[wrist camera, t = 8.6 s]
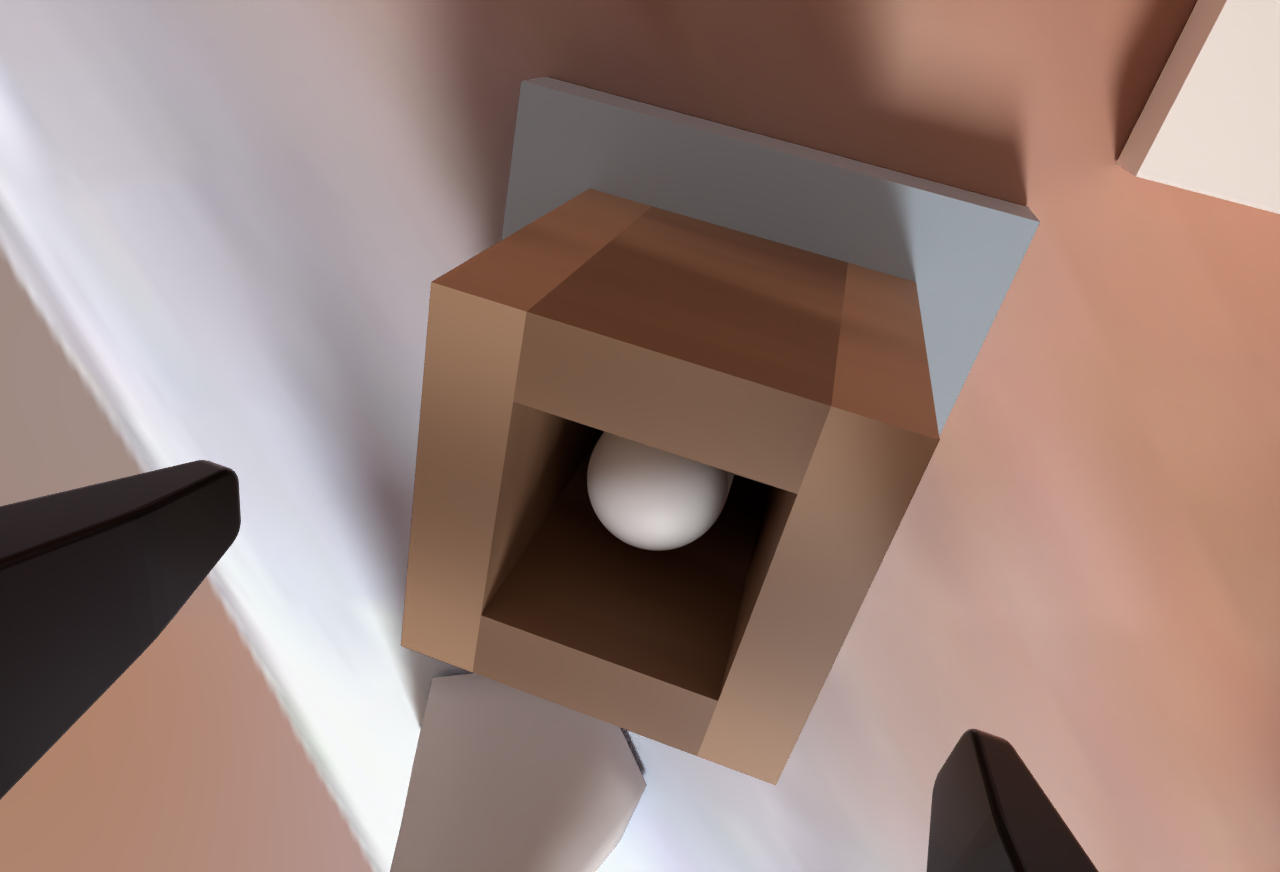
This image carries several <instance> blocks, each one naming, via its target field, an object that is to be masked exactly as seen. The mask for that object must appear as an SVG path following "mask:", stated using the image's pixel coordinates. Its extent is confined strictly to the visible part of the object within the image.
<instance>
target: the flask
mask: <svg viewBox="0 0 1280 872" xmlns="http://www.w3.org/2000/svg"><path fill="white" fill-rule="evenodd" d="M645 787H646V783H645V780H644V778H643V776H642V774H641V772H640V769H639V767H638V765H637V763H636V761H635V759H634V756H633V754H632V752H631V750H630V748H629V746H628V743H627V741H626V739H625V737H624V735H623V733H622V730H621V728H620V727H618V726H615V725H612V724H610V723H607V722H604V721H602V720H599V719H596V718H594V717H591V716H588V715H585V714H583V713H580V712H577V711H575V710H572V709H569V708H567V707H564V706H561V705H559V704H556V703H553V702H551V701H548V700H545V699H542V698H540V697H537V696H534V695H532V694H529V693H526V692H524V691H521V690H518V689H516V688H513V687H510V686H507V685H505V684H502V683H499V682H497V681H494V680H491V679H489V678H486V677H483V676H481V675H478V674H475V673H473V674H463V675H453V676H443V677H433V678H432V683H431V687H430V691H429V696H428V700H427V704H426V708H425V713H424V717H423V722H422V726H421V731H420V736H419V740H418V745H417V749H416V754H415V758H414V763H413V767H412V772H411V777H410V782H409V787H408V793H407V798H406V803H405V808H404V813H403V818H402V823H401V827H400V831H399V836H398V840H397V844H396V848H395V853H394V857H393V861H392V865H391V870H390V872H595V871H596V870H597V869H598V868H599V867H600V865H601V864H602V863H603V862H604V861H605V859H606V858H607V857H608V855H609V854H610V853H611V852H612V850H613V849H614V848H615V847H616V845H617V844H618V843H619V841H620V840H621V838H622V836H623V834H624V831H625V829H626V827H627V825H628V823H629V821H630V819H631V817H632V815H633V813H634V810H635V808H636V806H637V804H638V802H639V800H640V798H641V796H642V794H643V792H644V789H645Z"/></svg>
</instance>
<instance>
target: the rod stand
mask: <svg viewBox="0 0 1280 872" xmlns="http://www.w3.org/2000/svg"><path fill="white" fill-rule="evenodd" d="M1116 165H1118V166H1120V167H1121V168H1123V169H1125V170H1126V171H1128V172H1130V173H1131V174H1133V175H1134V176H1137V177H1140V178H1144V179H1148V180H1152V181H1156V182H1159V183H1163V184H1167V185H1171V186H1175V187H1179V188H1182V189H1186V190H1190V191H1194V192H1198V193H1201V194H1205V195H1209V196H1213V197H1217V198H1221V199H1224V200H1228V201H1232V202H1236V203H1240V204H1243V205H1247V206H1251V207H1255V208H1259V209H1263V210H1266V211H1270V212H1274V213H1278V214H1280V0H1198V1H1197V3H1196V5H1195V7H1194V9H1193V11H1192V13H1191V15H1190V17H1189V19H1188V21H1187V23H1186V25H1185V27H1184V29H1183V31H1182V33H1181V35H1180V37H1179V39H1178V41H1177V43H1176V45H1175V47H1174V49H1173V51H1172V53H1171V55H1170V57H1169V59H1168V61H1167V63H1166V65H1165V67H1164V69H1163V71H1162V73H1161V75H1160V77H1159V79H1158V81H1157V83H1156V85H1155V87H1154V89H1153V91H1152V93H1151V95H1150V97H1149V99H1148V101H1147V103H1146V105H1145V107H1144V109H1143V111H1142V113H1141V115H1140V117H1139V119H1138V121H1137V123H1136V125H1135V127H1134V129H1133V131H1132V133H1131V135H1130V136H1129V138H1128V140H1127V142H1126V144H1125V146H1124V148H1123V150H1122V152H1121V154H1120V156H1119V158H1118V160H1117V162H1116Z"/></svg>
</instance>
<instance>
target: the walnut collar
mask: <svg viewBox="0 0 1280 872" xmlns="http://www.w3.org/2000/svg"><path fill="white" fill-rule="evenodd" d="M603 431H605V432H608V433H611V434H614V435H617V436H620V437H623V438H627V439H630V440H633V441H636V442H639V443H642V444H645V445H648V446H651V447H654V448H657V449H660V450H663V451H666V452H670V453H673V454H676V455H679V456H682V457H685V458H688V459H691V460H694V461H697V462H700V463H703V464H706V465H709V466H713V467H716V468H719V469H722V470H725V471H728V472H731V473H734V474H737V475H740V476H743V477H746V478H749V479H752V480H756V481H759V482H762V483H765V484H768V485H765V484H761V483H758V482H755V481H752V480H749V479H746V478H743V477H740V476H737V475H734V477H733V481H732V484H731V487H730V490H729V493H728V497H727V500H726V503H725V505H724V507H723V510H722V512H721V514H720V516H719V517H718V519H717V520H716V522H715V523H714V524H713V525H712V527H711V528H710V529H709V530H708V531H707V532H706V533H704V534H703V535H702V536H701V537H700V538H698V539H696V540H695V541H693V542H691V543H689V544H687V545H685V546H682V547H679V548H676V549H671V550H662V551H653V550H645V549H640V548H637V547H634V546H631V545H629V544H627V543H625V542H623V541H621V540H620V539H618V538H617V537H615V536H614V535H613V534H612V533H611V532H609V530H608V529H607V528H606V527H605V526H604V525H603V524H602V522H601V521H600V520H599V518H598V517H597V515H596V513H595V511H594V509H593V507H592V504H591V501H590V498H589V494H588V488H587V471H588V465H589V461H590V457H591V454H592V452H593V450H594V448H595V446H596V444H597V442H598V440H599V439H600V437H601V436H602V434H603V433H604V432H603ZM939 440H940V439H939V432H938V425H937V419H936V412H935V405H934V399H933V392H932V385H931V379H930V372H929V365H928V358H927V352H926V345H925V338H924V332H923V325H922V318H921V312H920V305H919V298H918V292H917V285H916V282H914V281H910V280H907V279H903V278H900V277H896V276H893V275H889V274H886V273H882V272H879V271H876V270H872V269H869V268H865V267H862V266H858V265H855V264H851V263H848V262H844V261H841V260H837V259H834V258H830V257H827V256H823V255H820V254H816V253H813V252H809V251H806V250H802V249H799V248H796V247H792V246H789V245H785V244H782V243H778V242H775V241H771V240H768V239H764V238H761V237H757V236H754V235H750V234H747V233H743V232H740V231H736V230H733V229H729V228H726V227H723V226H719V225H716V224H712V223H709V222H705V221H702V220H698V219H695V218H691V217H688V216H684V215H681V214H677V213H674V212H670V211H667V210H663V209H660V208H656V207H653V206H649V205H646V204H643V203H639V202H636V201H632V200H629V199H625V198H622V197H618V196H615V195H611V194H608V193H604V192H601V191H597V190H594V189H590V188H589V189H588V190H586V191H584V192H583V193H581V194H579V195H577V196H576V197H574V198H572V199H571V200H569V201H567V202H566V203H564V204H562V205H561V206H559V207H557V208H555V209H554V210H552V211H550V212H549V213H547V214H545V215H544V216H542V217H540V218H539V219H537V220H535V221H534V222H532V223H530V224H528V225H527V226H525V227H523V228H522V229H520V230H518V231H517V232H515V233H513V234H512V235H510V236H508V237H507V238H505V239H503V240H501V241H500V242H498V243H496V244H495V245H493V246H491V247H490V248H488V249H486V250H485V251H483V252H481V253H479V254H478V255H476V256H474V257H473V258H471V259H469V260H468V261H466V262H464V263H463V264H461V265H459V266H458V267H456V268H454V269H452V270H451V271H449V272H447V273H446V274H444V275H442V276H441V277H439V278H437V279H436V280H434V281H432V282H431V291H430V303H429V315H428V327H427V339H426V351H425V363H424V375H423V387H422V399H421V411H420V423H419V435H418V447H417V459H416V471H415V483H414V495H413V507H412V519H411V531H410V543H409V555H408V567H407V579H406V591H405V603H404V615H403V627H402V639H401V646H403V647H405V648H408V649H411V650H413V651H416V652H419V653H421V654H424V655H427V656H430V657H432V658H435V659H438V660H440V661H443V662H446V663H448V664H451V665H454V666H456V667H459V668H462V669H464V670H467V671H470V672H473V673H475V674H478V675H481V676H483V677H486V678H489V679H491V680H494V681H497V682H499V683H502V684H505V685H507V686H510V687H513V688H516V689H518V690H521V691H524V692H526V693H529V694H532V695H534V696H537V697H540V698H542V699H545V700H548V701H551V702H553V703H556V704H559V705H561V706H564V707H567V708H569V709H572V710H575V711H577V712H580V713H583V714H585V715H588V716H591V717H594V718H596V719H599V720H602V721H604V722H607V723H610V724H612V725H615V726H618V727H620V728H623V729H626V730H628V731H631V732H634V733H637V734H639V735H642V736H645V737H647V738H650V739H653V740H655V741H658V742H661V743H663V744H666V745H669V746H671V747H674V748H677V749H680V750H682V751H685V752H688V753H690V754H693V755H696V756H698V757H701V758H704V759H706V760H709V761H712V762H715V763H717V764H720V765H723V766H725V767H728V768H731V769H733V770H736V771H739V772H741V773H744V774H747V775H749V776H752V777H755V778H758V779H760V780H763V781H766V782H768V783H771V784H774V785H776V784H777V782H778V780H779V777H780V775H781V773H782V771H783V769H784V767H785V765H786V763H787V761H788V759H789V756H790V754H791V752H792V750H793V748H794V746H795V744H796V742H797V740H798V737H799V735H800V733H801V731H802V729H803V727H804V725H805V723H806V721H807V718H808V716H809V714H810V712H811V710H812V708H813V706H814V704H815V702H816V699H817V697H818V695H819V693H820V691H821V689H822V687H823V685H824V683H825V681H826V678H827V676H828V674H829V672H830V670H831V668H832V666H833V664H834V662H835V659H836V657H837V655H838V653H839V651H840V649H841V647H842V645H843V643H844V640H845V638H846V636H847V634H848V632H849V630H850V628H851V626H852V624H853V622H854V619H855V617H856V615H857V613H858V611H859V609H860V607H861V605H862V603H863V600H864V598H865V596H866V594H867V592H868V590H869V588H870V586H871V584H872V581H873V579H874V577H875V575H876V573H877V571H878V569H879V567H880V565H881V562H882V560H883V558H884V556H885V554H886V552H887V550H888V548H889V546H890V544H891V541H892V539H893V537H894V535H895V533H896V531H897V529H898V527H899V525H900V522H901V520H902V518H903V516H904V514H905V512H906V510H907V508H908V506H909V503H910V501H911V499H912V497H913V495H914V493H915V491H916V489H917V487H918V484H919V482H920V480H921V478H922V476H923V474H924V472H925V470H926V468H927V466H928V463H929V461H930V459H931V457H932V455H933V453H934V451H935V449H936V447H937V444H938V442H939Z"/></svg>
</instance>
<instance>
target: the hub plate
mask: <svg viewBox="0 0 1280 872" xmlns="http://www.w3.org/2000/svg"><path fill="white" fill-rule="evenodd" d="M589 188H590V189H594V190H597V191H601V192H604V193H608V194H611V195H615V196H618V197H622V198H625V199H629V200H632V201H636V202H639V203H643V204H646V205H649V206H653V207H656V208H660V209H663V210H667V211H670V212H674V213H677V214H681V215H684V216H688V217H691V218H695V219H698V220H702V221H705V222H709V223H712V224H716V225H719V226H723V227H726V228H729V229H733V230H736V231H740V232H743V233H747V234H750V235H754V236H757V237H761V238H764V239H768V240H771V241H775V242H778V243H782V244H785V245H789V246H792V247H796V248H799V249H802V250H806V251H809V252H813V253H816V254H820V255H823V256H827V257H830V258H834V259H837V260H841V261H844V262H848V263H851V264H855V265H858V266H862V267H865V268H869V269H872V270H876V271H879V272H882V273H886V274H889V275H893V276H896V277H900V278H903V279H907V280H910V281H914V282H916V285H917V292H918V298H919V305H920V312H921V318H922V325H923V332H924V338H925V345H926V352H927V358H928V365H929V372H930V379H931V385H932V392H933V399H934V405H935V412H936V419H937V425H938V432H939V435H940V433H941V431H942V429H943V427H944V425H945V423H946V421H947V418H948V416H949V414H950V412H951V410H952V408H953V406H954V404H955V401H956V399H957V397H958V395H959V393H960V391H961V389H962V387H963V385H964V382H965V380H966V378H967V376H968V374H969V372H970V370H971V368H972V365H973V363H974V361H975V359H976V357H977V355H978V353H979V351H980V348H981V346H982V344H983V342H984V340H985V338H986V336H987V334H988V332H989V329H990V327H991V325H992V323H993V321H994V319H995V317H996V315H997V312H998V310H999V308H1000V306H1001V304H1002V302H1003V300H1004V298H1005V295H1006V293H1007V291H1008V289H1009V287H1010V285H1011V283H1012V281H1013V279H1014V276H1015V274H1016V272H1017V270H1018V268H1019V266H1020V264H1021V262H1022V259H1023V257H1024V255H1025V253H1026V251H1027V249H1028V247H1029V245H1030V242H1031V240H1032V238H1033V236H1034V234H1035V232H1036V230H1037V228H1038V225H1039V223H1040V221H1039V220H1038V219H1037V218H1036V216H1035V215H1034V214H1033V213H1032V211H1031V210H1030V209H1029V208H1028V207H1026V206H1023V205H1019V204H1015V203H1011V202H1008V201H1004V200H1000V199H997V198H993V197H989V196H986V195H982V194H978V193H974V192H971V191H967V190H963V189H960V188H956V187H952V186H949V185H945V184H941V183H938V182H934V181H930V180H926V179H923V178H919V177H915V176H912V175H908V174H904V173H901V172H897V171H893V170H890V169H886V168H882V167H878V166H875V165H871V164H867V163H864V162H860V161H856V160H853V159H849V158H845V157H841V156H838V155H834V154H830V153H827V152H823V151H819V150H816V149H812V148H808V147H805V146H801V145H797V144H793V143H790V142H786V141H782V140H779V139H775V138H771V137H768V136H764V135H760V134H757V133H753V132H749V131H745V130H742V129H738V128H734V127H731V126H727V125H723V124H720V123H716V122H712V121H708V120H705V119H701V118H697V117H694V116H690V115H686V114H683V113H679V112H675V111H672V110H668V109H664V108H660V107H657V106H653V105H649V104H646V103H642V102H638V101H635V100H631V99H627V98H624V97H620V96H616V95H612V94H609V93H605V92H601V91H598V90H594V89H590V88H587V87H583V86H579V85H575V84H572V83H568V82H564V81H561V80H557V79H553V78H550V77H546V76H545V77H540V78H534V79H528V80H523V81H521V87H520V95H519V103H518V111H517V119H516V127H515V135H514V143H513V151H512V159H511V167H510V174H509V182H508V190H507V198H506V206H505V214H504V222H503V230H502V238H501V240H503V239H505V238H507V237H508V236H510V235H512V234H513V233H515V232H517V231H518V230H520V229H522V228H523V227H525V226H527V225H528V224H530V223H532V222H534V221H535V220H537V219H539V218H540V217H542V216H544V215H545V214H547V213H549V212H550V211H552V210H554V209H555V208H557V207H559V206H561V205H562V204H564V203H566V202H567V201H569V200H571V199H572V198H574V197H576V196H577V195H579V194H581V193H583V192H584V191H586V190H588V189H589ZM603 432H604V433H603V434H602V436H601V437H600V439H599V440H598V442H597V444H596V446H595V448H594V450H593V452H592V454H591V457H590V461H589V465H588V471H587V488H588V494H589V498H590V501H591V504H592V507H593V509H594V511H595V513H596V515H597V517H598V518H599V520H600V521H601V522H602V524H603V525H604V526H605V527H606V528H607V529H608V530H609V532H611V533H612V534H613V535H614V536H615V537H617V538H618V539H620V540H621V541H623V542H625V543H627V544H629V545H631V546H634V547H637V548H640V549H645V550H653V551H662V550H671V549H676V548H679V547H682V546H685V545H687V544H689V543H691V542H693V541H695V540H696V539H698V538H700V537H701V536H702V535H703V534H704V533H706V532H707V531H708V530H709V529H710V528H711V527H712V525H713V524H714V523H715V522H716V520H717V519H718V517H719V516H720V514H721V512H722V510H723V507H724V505H725V503H726V500H727V497H728V493H729V490H730V487H731V484H732V481H733V477H734V475H737V474H734V473H731V472H728V471H725V470H722V469H719V468H716V467H713V466H709V465H706V464H703V463H700V462H697V461H694V460H691V459H688V458H685V457H682V456H679V455H676V454H673V453H670V452H666V451H663V450H660V449H657V448H654V447H651V446H648V445H645V444H642V443H639V442H636V441H633V440H630V439H627V438H623V437H620V436H617V435H614V434H611V433H608V432H605V431H603ZM737 476H740V475H737ZM740 477H743V476H740ZM743 478H746V477H743ZM746 479H749V478H746ZM749 480H752V479H749ZM752 481H755V482H758V483H761V484H765V483H762V482H759V481H756V480H752ZM765 485H768V484H765Z"/></svg>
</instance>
